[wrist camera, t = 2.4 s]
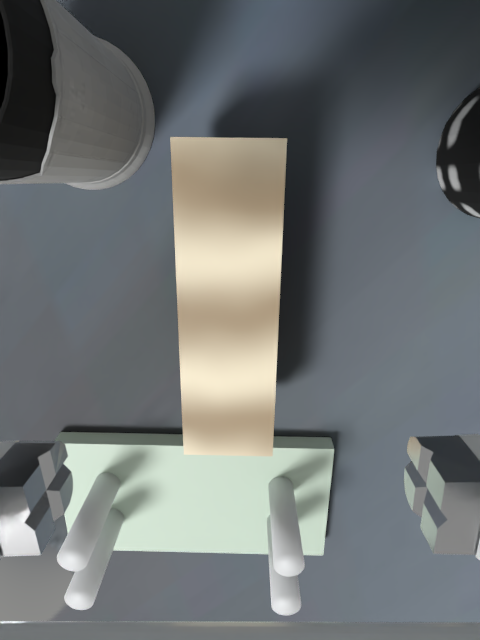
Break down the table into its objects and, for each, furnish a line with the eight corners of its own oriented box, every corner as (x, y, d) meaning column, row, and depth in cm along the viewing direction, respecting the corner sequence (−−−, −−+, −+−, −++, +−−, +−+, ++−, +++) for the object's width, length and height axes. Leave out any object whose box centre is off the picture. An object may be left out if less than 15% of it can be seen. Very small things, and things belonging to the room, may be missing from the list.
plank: (269, 419, 29) (272, 456, 25) (192, 418, 29) (183, 454, 25) (280, 145, 23) (287, 138, 19) (183, 143, 23) (170, 136, 19)
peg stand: (77, 534, 36) (29, 635, 28) (60, 431, 33) (0, 513, 25) (320, 540, 36) (340, 643, 28) (330, 437, 32) (357, 521, 24)
